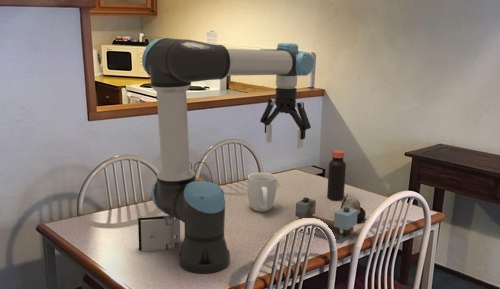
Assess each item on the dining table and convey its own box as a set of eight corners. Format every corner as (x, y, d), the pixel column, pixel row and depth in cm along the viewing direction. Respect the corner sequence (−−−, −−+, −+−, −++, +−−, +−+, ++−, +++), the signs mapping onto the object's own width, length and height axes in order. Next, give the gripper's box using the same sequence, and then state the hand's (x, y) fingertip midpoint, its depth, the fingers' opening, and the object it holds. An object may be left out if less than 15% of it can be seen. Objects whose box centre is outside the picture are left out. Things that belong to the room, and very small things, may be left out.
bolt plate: (340, 243, 163) (340, 240, 163) (287, 227, 175) (288, 224, 175) (349, 237, 168) (349, 234, 168) (298, 222, 180) (298, 219, 180)
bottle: (323, 197, 207) (326, 151, 202) (333, 194, 211) (336, 148, 207) (336, 202, 202) (339, 154, 197) (346, 198, 206) (350, 151, 202)
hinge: (179, 240, 163) (179, 211, 161) (184, 246, 158) (184, 217, 156) (137, 247, 157) (136, 217, 155) (141, 254, 153) (140, 223, 150)
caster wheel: (359, 230, 180) (333, 221, 184) (368, 215, 189) (344, 206, 193) (362, 215, 177) (336, 206, 181) (371, 200, 186) (346, 192, 190)
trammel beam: (346, 239, 166) (348, 213, 164) (294, 223, 179) (296, 199, 176) (356, 233, 172) (357, 207, 170) (305, 218, 184) (306, 194, 182)
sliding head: (346, 235, 166) (348, 212, 164) (333, 231, 169) (335, 209, 167) (356, 229, 171) (358, 207, 170) (343, 225, 174) (344, 203, 173)
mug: (279, 217, 184) (281, 183, 181) (250, 218, 183) (251, 184, 180) (272, 203, 199) (273, 172, 196) (245, 204, 197) (246, 172, 194)
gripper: (322, 89, 174) (318, 148, 179) (263, 83, 188) (262, 138, 193) (311, 91, 168) (308, 152, 173) (252, 85, 183) (250, 141, 187)
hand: (284, 144), depth 183 cm, fingers open, 13 cm apart
